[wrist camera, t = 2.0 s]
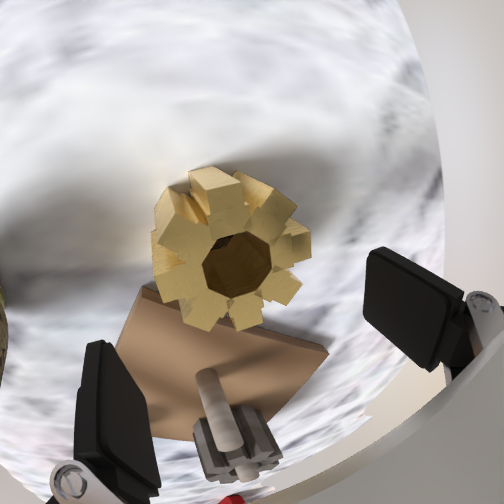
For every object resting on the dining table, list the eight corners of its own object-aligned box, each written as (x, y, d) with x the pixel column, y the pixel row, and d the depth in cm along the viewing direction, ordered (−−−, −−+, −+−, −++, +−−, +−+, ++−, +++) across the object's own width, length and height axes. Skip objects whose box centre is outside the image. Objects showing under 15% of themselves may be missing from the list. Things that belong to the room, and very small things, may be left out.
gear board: (141, 286, 16) (146, 380, 9) (322, 345, 23) (369, 402, 17) (90, 412, 18) (92, 484, 12) (241, 435, 26) (265, 488, 20)
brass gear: (138, 184, 13) (132, 210, 9) (259, 156, 15) (305, 169, 11) (170, 292, 16) (182, 348, 12) (272, 261, 18) (312, 304, 14)
